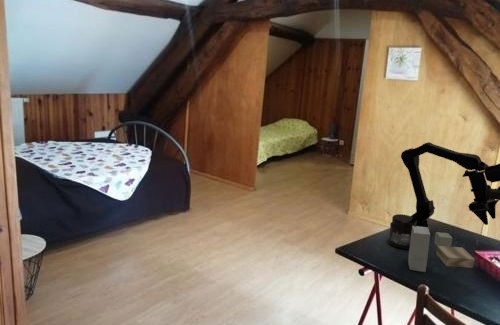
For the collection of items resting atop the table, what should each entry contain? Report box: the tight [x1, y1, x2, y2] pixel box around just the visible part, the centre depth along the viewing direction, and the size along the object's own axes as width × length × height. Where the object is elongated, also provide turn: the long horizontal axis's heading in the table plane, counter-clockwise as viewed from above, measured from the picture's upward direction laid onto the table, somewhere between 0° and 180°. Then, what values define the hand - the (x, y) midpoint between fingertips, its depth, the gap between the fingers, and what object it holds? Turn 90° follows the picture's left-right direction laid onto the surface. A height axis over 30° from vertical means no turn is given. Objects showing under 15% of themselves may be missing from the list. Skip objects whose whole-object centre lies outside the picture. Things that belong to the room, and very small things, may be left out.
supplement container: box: [387, 213, 417, 250], centre depth 168 cm, size 10×10×12 cm
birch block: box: [435, 246, 476, 269], centre depth 156 cm, size 10×10×4 cm
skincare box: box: [407, 226, 431, 273], centre depth 149 cm, size 8×6×15 cm
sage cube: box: [433, 231, 453, 247], centre depth 170 cm, size 5×5×5 cm
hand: (490, 221), depth 163 cm, fingers open, 9 cm apart
